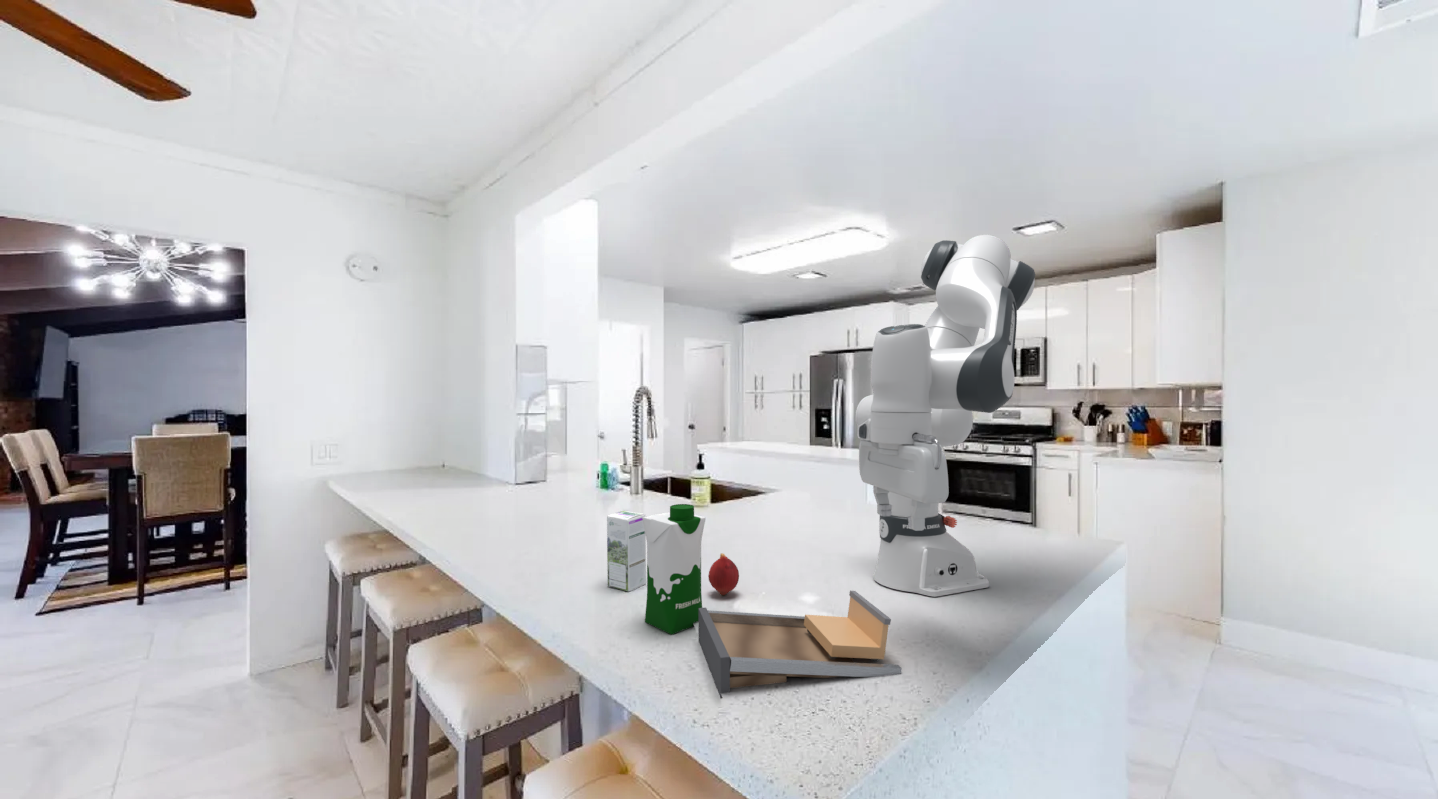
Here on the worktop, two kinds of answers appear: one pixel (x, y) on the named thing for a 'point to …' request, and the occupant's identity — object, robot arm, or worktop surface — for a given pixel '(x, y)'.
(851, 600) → the cart
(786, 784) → the worktop surface
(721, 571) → the onion
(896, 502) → the robot arm
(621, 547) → the syrup box
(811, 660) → the dock
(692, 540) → the milk carton
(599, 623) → the worktop surface
